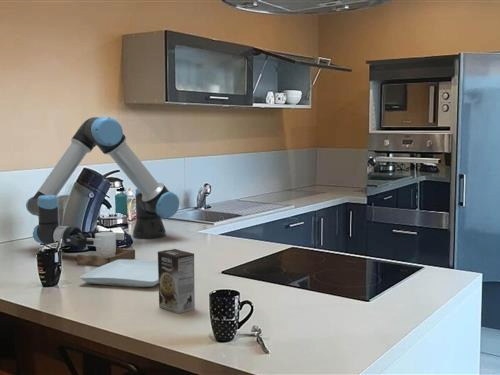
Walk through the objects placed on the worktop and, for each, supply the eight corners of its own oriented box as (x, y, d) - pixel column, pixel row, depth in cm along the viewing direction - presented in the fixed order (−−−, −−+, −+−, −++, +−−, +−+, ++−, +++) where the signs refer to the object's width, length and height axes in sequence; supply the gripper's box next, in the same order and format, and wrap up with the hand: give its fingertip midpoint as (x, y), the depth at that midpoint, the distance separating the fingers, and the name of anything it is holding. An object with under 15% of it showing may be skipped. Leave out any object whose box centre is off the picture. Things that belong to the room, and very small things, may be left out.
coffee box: (158, 307, 169) (156, 251, 168) (176, 302, 174) (174, 248, 172) (177, 314, 163) (176, 256, 161) (196, 309, 167) (194, 252, 166)
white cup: (119, 257, 231) (118, 231, 230) (112, 262, 223) (111, 235, 222) (100, 257, 232) (99, 231, 231) (92, 261, 224) (91, 235, 223)
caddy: (77, 264, 223) (76, 255, 223) (103, 255, 238) (103, 246, 238) (109, 267, 217) (109, 258, 217) (135, 258, 232) (134, 249, 232)
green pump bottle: (126, 226, 308) (125, 187, 306) (114, 226, 308) (112, 187, 306) (129, 224, 314) (128, 186, 312) (117, 224, 315) (115, 186, 312)
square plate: (187, 271, 212) (187, 261, 211) (155, 292, 186) (154, 280, 185) (118, 267, 219) (118, 257, 219) (78, 287, 193) (77, 275, 192)
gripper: (89, 239, 246) (132, 243, 237) (46, 251, 223) (92, 256, 215) (88, 221, 245) (131, 224, 236) (45, 232, 222) (91, 235, 214)
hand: (113, 239), depth 225 cm, fingers open, 13 cm apart
